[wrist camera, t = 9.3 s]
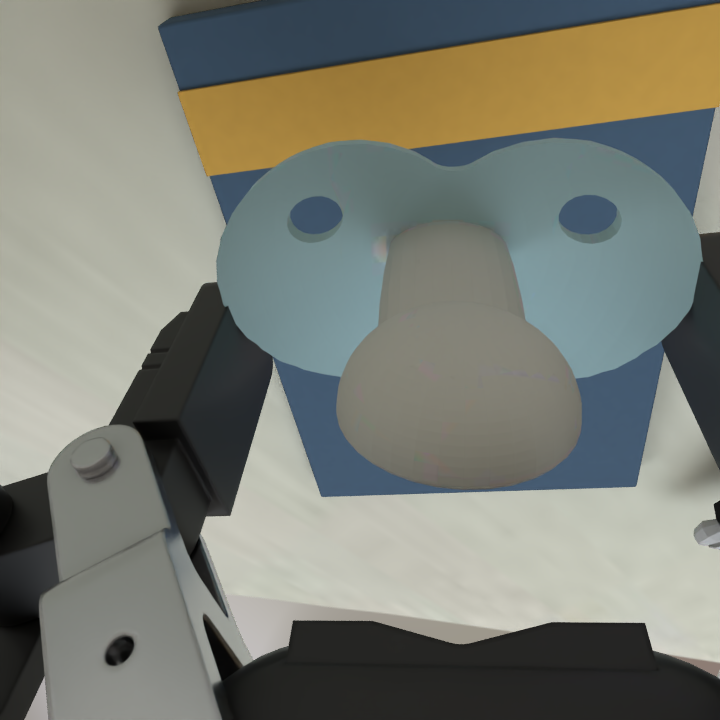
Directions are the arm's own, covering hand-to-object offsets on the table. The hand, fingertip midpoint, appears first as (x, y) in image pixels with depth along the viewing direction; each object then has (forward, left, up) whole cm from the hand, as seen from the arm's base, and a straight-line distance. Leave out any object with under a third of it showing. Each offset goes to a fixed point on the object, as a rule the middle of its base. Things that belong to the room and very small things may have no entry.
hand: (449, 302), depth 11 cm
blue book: (0, -6, -9) cm, 11 cm away
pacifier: (0, 0, -1) cm, 1 cm away
